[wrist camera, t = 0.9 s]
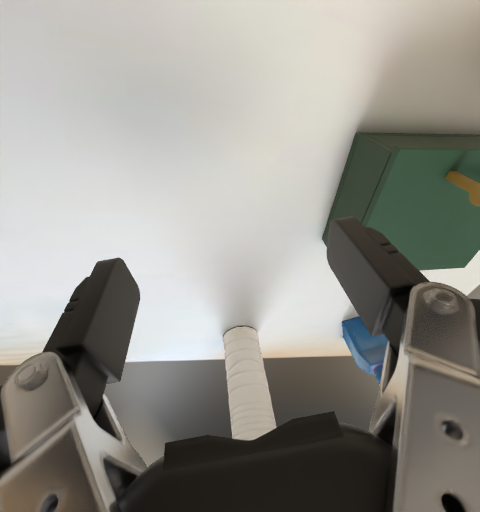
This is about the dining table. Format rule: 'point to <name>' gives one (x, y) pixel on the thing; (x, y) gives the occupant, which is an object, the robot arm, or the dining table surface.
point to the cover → (430, 205)
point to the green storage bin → (378, 168)
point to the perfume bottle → (365, 346)
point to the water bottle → (247, 385)
